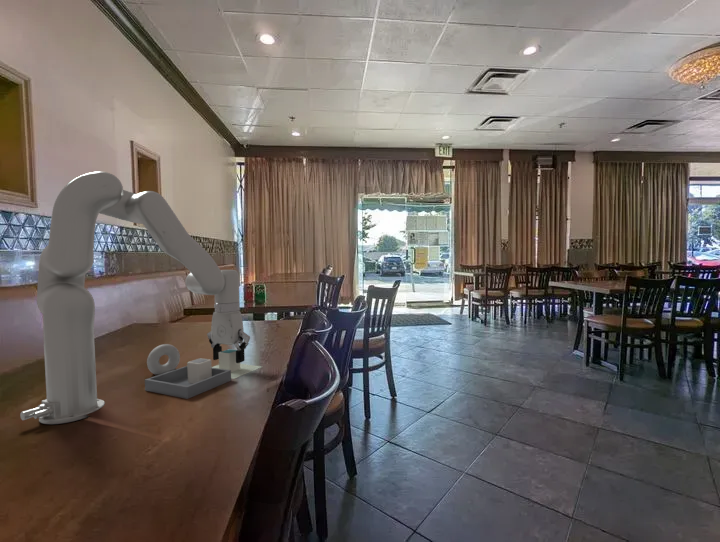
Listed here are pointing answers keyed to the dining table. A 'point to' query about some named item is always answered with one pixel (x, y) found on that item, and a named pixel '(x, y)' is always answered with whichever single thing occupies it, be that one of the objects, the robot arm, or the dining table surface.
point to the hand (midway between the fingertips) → (228, 360)
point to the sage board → (241, 370)
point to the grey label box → (199, 370)
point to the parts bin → (185, 383)
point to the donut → (155, 356)
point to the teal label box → (228, 360)
